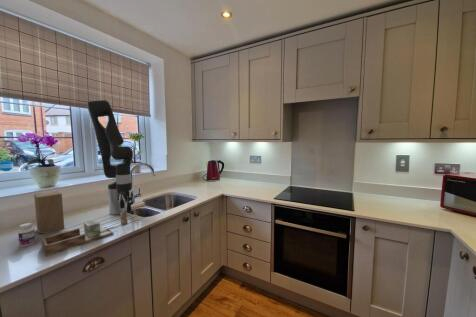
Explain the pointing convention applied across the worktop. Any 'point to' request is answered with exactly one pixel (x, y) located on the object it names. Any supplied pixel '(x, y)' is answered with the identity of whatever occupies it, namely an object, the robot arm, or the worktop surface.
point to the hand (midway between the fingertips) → (125, 209)
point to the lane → (69, 240)
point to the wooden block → (49, 211)
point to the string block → (94, 226)
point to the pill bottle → (26, 235)
